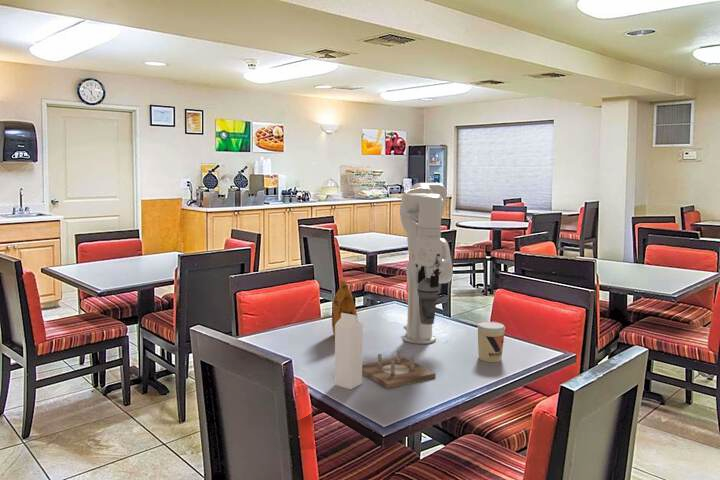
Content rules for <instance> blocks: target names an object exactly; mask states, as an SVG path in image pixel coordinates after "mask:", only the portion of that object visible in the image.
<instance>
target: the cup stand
mask: <svg viewBox="0 0 720 480" xmlns="http://www.w3.org/2000/svg"><path fill="white" fill-rule="evenodd" d="M382 358H383V357H382V353H378V354H377V361H374V362H369V363H364V364H362V375H365V376H366V377H368V378H369V379H371V380H372V381H374V382H376V383H377V382H378V383H377V384H379V385H381V386H382V385H383V387H384V388H386V389H387V390H388V388H389V389H392V387H393V388H397V387H396V386H398V387H401V386H400V385H402V386H405V384H406V385H410V384H409V383H411V384H414V382H415V383H420V382H423V380H424V381H427V380H433V379H435V378H436V375H437V374H436V372H434V371H433V370H430V369H428V368H426V367H424V366H422V365H420V364H418V363H416V362H415V357H414V356H410V359H408V358H405V357H403V356H402V355H401V349H398V350H396V357H394V358H391V359H386V360H382Z"/></svg>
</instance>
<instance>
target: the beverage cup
mask: <svg viewBox="0 0 720 480" xmlns="http://www.w3.org/2000/svg"><path fill="white" fill-rule="evenodd" d="M424 269H425V279H423V280H421V281H420V283H419V285H418V289H417V290H418V296H419V309H420V321H421V323H422V324H426V325H430V324H432V325H434V323H435V317H436V309H437V300H438V298H437V297H438V295H439V286H438V287H433V288H431V287H430V278H427V273H426V267H424Z"/></svg>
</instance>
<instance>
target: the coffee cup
mask: <svg viewBox="0 0 720 480" xmlns="http://www.w3.org/2000/svg"><path fill="white" fill-rule="evenodd" d="M476 328H477V345H478V346H477V347H478V349H477V350H478V359H479V360H481V361H482V362H486V363H487V362H488V363H499V362H501V361H502V357H503V348H504V339H505V330H506V327H505V325H504V324H503V323H501V322H497V321H481V322H479V323H478V324H477V326H476Z"/></svg>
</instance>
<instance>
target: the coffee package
mask: <svg viewBox="0 0 720 480" xmlns="http://www.w3.org/2000/svg"><path fill="white" fill-rule="evenodd" d="M339 284H340V287H339V289H338V290H337V292H336V293H335V295H334V297H333V302H332V312H331V326H332V332H333V335H334V337H335V324H336V323H337V322H338V320H339V319H340V318H341V313H346V314H351V315H356V316H357V317H358V312H357V310H356V305H355V301H354V298H353V294H352V292H351V290H350V287H348V286H349V282H348V281H346V280H344V279H341V280H339ZM357 321H358V322H359V319H357Z"/></svg>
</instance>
